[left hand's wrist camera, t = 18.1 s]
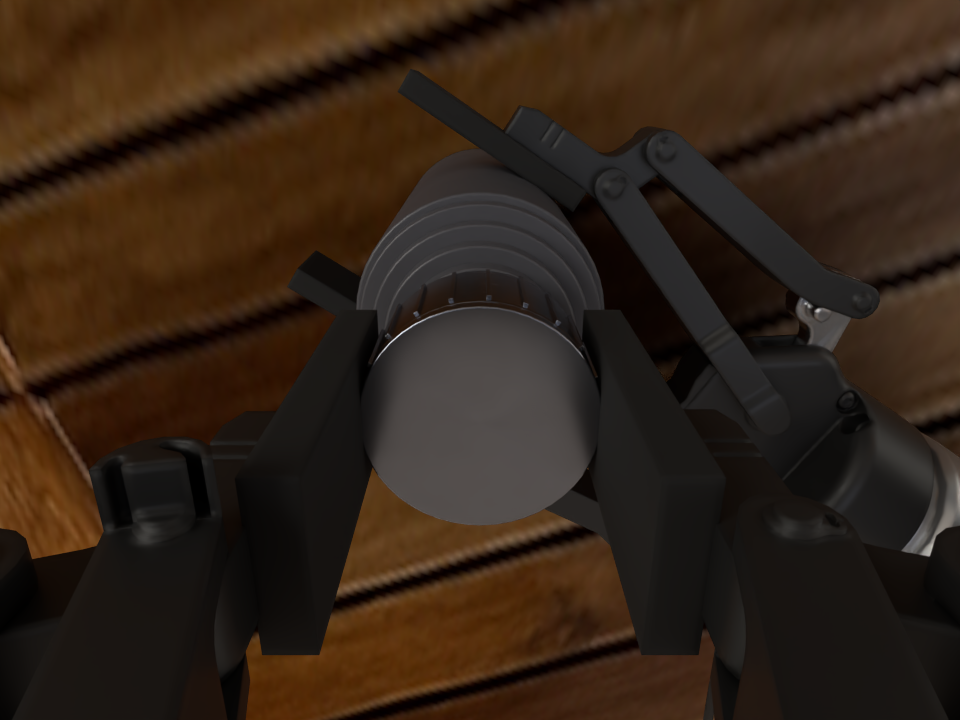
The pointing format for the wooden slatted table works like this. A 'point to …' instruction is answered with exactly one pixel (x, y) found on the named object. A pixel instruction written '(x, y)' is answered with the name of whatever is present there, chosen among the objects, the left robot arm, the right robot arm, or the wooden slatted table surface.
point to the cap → (480, 400)
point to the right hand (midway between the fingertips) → (353, 179)
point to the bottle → (479, 238)
